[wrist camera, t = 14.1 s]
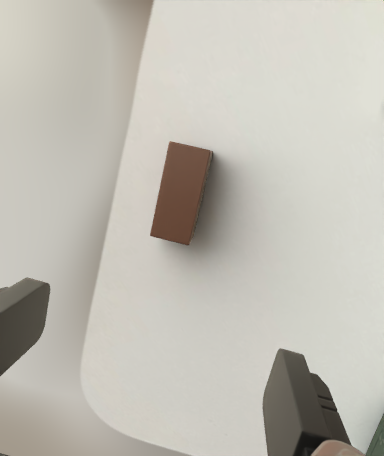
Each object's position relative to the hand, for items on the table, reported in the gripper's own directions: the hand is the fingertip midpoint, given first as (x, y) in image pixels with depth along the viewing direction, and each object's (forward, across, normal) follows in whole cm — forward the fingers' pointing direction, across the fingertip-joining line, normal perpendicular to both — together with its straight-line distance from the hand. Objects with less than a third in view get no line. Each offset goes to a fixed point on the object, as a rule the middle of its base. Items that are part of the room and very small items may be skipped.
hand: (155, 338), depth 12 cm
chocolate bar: (+19, +2, -3) cm, 19 cm away
